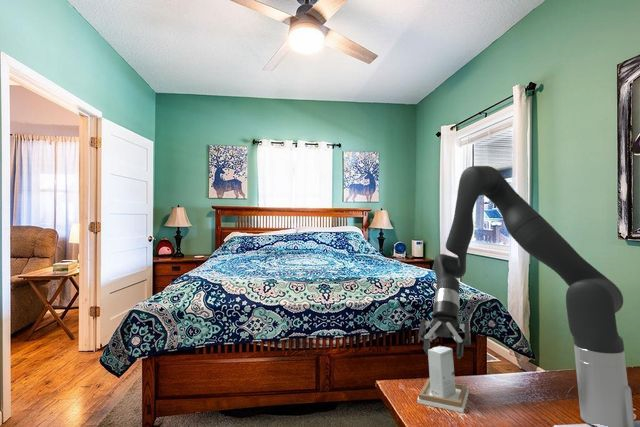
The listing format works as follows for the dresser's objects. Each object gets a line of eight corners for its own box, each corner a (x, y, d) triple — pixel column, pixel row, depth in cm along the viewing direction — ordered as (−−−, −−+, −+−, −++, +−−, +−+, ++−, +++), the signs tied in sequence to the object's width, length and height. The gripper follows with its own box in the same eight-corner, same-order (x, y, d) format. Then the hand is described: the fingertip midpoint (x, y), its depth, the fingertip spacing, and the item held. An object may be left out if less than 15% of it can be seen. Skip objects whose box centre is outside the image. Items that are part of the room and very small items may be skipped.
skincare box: (443, 400, 90) (441, 353, 90) (429, 394, 93) (426, 349, 94) (456, 393, 93) (453, 348, 94) (442, 387, 97) (439, 344, 98)
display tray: (468, 392, 95) (468, 384, 95) (463, 412, 85) (462, 403, 85) (427, 385, 101) (426, 377, 101) (417, 403, 91) (417, 394, 91)
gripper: (421, 298, 107) (414, 345, 96) (469, 300, 100) (467, 352, 89) (425, 311, 111) (419, 358, 101) (472, 314, 104) (471, 365, 93)
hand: (442, 355), depth 95 cm, fingers open, 8 cm apart
